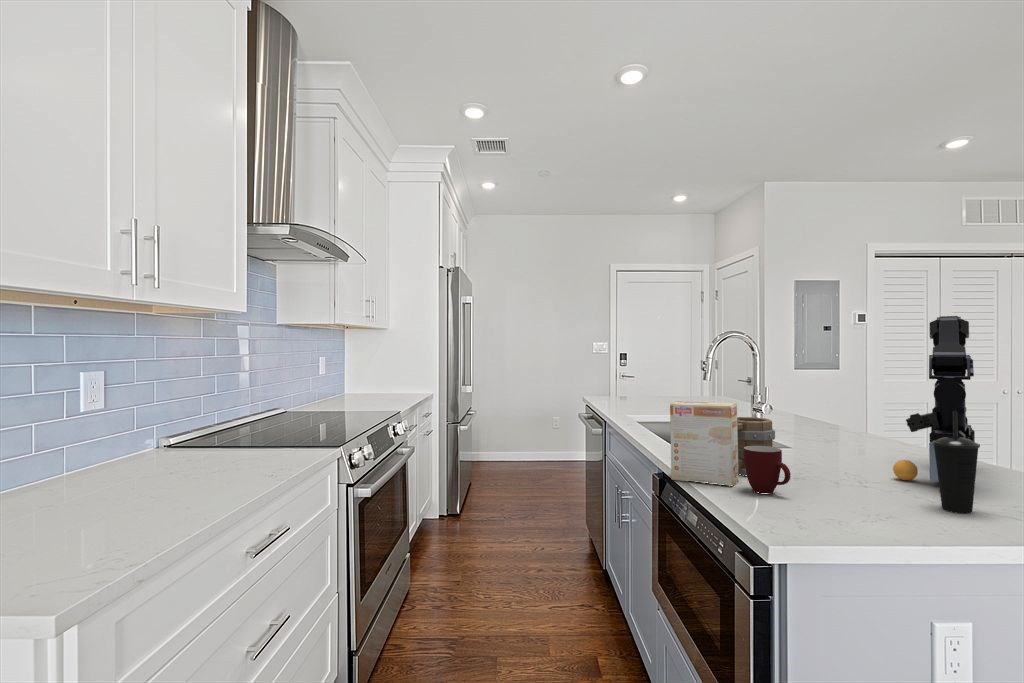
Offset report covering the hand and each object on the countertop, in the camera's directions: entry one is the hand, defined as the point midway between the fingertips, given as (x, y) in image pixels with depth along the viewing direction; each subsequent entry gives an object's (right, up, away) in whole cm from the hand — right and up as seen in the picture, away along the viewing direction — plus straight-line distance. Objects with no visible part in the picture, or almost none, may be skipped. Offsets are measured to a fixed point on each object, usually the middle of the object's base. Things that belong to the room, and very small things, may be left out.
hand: (951, 469), depth 133 cm
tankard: (-43, -5, +16) cm, 46 cm away
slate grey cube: (0, -3, 0) cm, 2 cm away
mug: (-45, -5, -4) cm, 46 cm away
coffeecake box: (-56, -5, +8) cm, 56 cm away
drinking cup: (-14, -4, -19) cm, 24 cm away
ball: (-7, -2, +6) cm, 9 cm away
